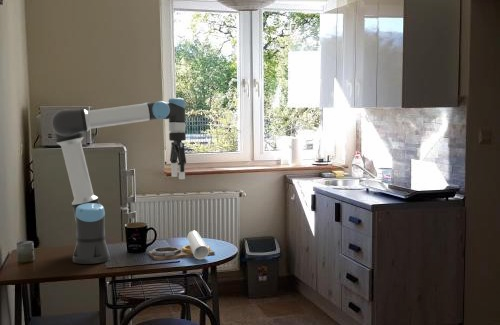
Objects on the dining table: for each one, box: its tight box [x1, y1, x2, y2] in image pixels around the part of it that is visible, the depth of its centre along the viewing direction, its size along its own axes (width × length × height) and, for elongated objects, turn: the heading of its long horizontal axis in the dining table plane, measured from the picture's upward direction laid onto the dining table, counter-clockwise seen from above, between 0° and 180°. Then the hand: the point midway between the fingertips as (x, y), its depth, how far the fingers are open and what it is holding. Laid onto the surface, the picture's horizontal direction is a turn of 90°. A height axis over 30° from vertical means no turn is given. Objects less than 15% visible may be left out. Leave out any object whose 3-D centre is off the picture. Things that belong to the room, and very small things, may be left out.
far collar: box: [181, 244, 211, 253], centre depth 256 cm, size 12×12×2 cm
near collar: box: [151, 246, 181, 256], centre depth 251 cm, size 12×12×2 cm
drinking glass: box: [186, 230, 209, 261], centre depth 248 cm, size 7×7×15 cm
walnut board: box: [148, 247, 215, 261], centre depth 253 cm, size 26×13×1 cm, turn 112°
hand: (178, 178), depth 270 cm, fingers open, 13 cm apart
